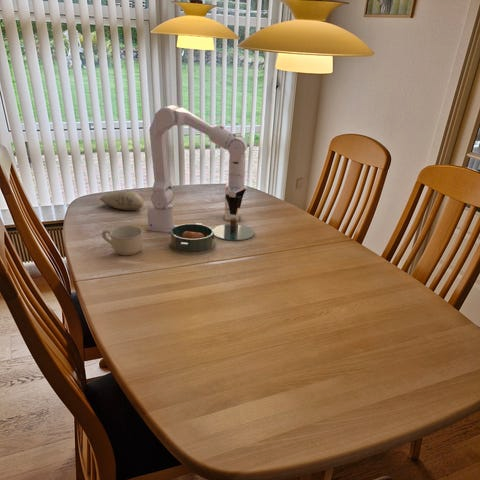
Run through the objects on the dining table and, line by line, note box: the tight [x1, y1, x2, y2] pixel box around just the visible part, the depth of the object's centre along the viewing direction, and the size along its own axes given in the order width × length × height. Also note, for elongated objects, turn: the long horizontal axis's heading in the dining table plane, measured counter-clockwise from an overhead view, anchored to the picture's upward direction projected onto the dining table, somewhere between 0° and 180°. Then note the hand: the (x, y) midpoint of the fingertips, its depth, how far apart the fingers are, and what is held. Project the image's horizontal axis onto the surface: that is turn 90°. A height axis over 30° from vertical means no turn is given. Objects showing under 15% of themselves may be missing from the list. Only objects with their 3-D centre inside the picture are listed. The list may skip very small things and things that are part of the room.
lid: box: [212, 218, 255, 242], centre depth 169 cm, size 16×16×6 cm
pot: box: [169, 222, 215, 254], centre depth 158 cm, size 15×21×6 cm
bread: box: [182, 231, 204, 239], centre depth 159 cm, size 8×5×4 cm, turn 79°
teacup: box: [101, 224, 144, 256], centre depth 150 cm, size 14×11×8 cm
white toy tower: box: [224, 181, 240, 221], centre depth 181 cm, size 6×6×14 cm
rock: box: [99, 190, 145, 211], centre depth 188 cm, size 8×11×20 cm
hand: (235, 211), depth 163 cm, fingers open, 7 cm apart
